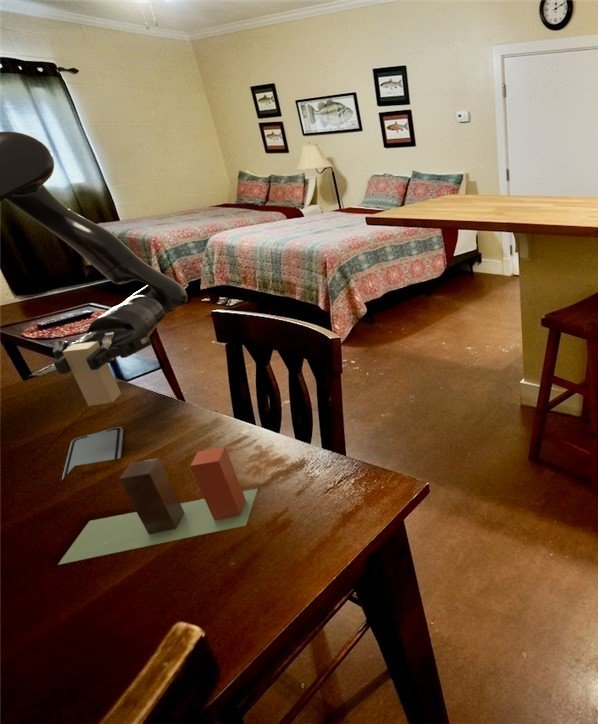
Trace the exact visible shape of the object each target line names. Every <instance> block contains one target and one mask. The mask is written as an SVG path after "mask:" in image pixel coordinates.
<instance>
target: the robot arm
mask: <svg viewBox="0 0 598 724" xmlns="http://www.w3.org/2000/svg"><path fill="white" fill-rule="evenodd" d="M54 170H55V160H54V156H53V154H52V152H51V151H50V149H49V148H48V147H47V146H46V145H45V144H44V143H43V142H41V140H38V139H37V138H35V137H33V136H32V135H28V134H25V133H22V132H16V131H8V130H7V131H0V203H1V202H3V201H4V200H5V201H6V202H8V203H9V204H11V205H12V206H13V207H15V208H17V209H18V210H20V211H21V212H23V213H24V214H26V215H27V216H28V217H30V218H31V219H32V220H33V221H36V222H37V223H38V224H40V225H41V226H43V228H46V229H47V230H48V231H50V232H51V233H52V234H54V235H55V236H57V237H58V238H59V239H61V240H62V241H63V242H65V243H66V244H67V245H68V246H70V247H71V248H72V249H73V250H74V251H76V252H77V253H78V254H79V255H80V256H82V258H84V259H85V260H86V261H87V262H88V263H90V264H91V265H92V267H94V268H95V269H97V271H99V272H100V273H101V274H102V275H103V276H104V277H106V278H107V279H108V280H109V281H110V282H112V283H113V284H115V285H123V284H128V283H129V282H132V281H133V282H134V281H138V282H142V283H144V284H146V286H144V287H142V288H141V289H139V290H138V291H136V292H134V293H133V294H132V295H130V296H129V297H127V298H126V299H125V300H124V301H122V302H121V303H119V304H118V305H116V306H113V307H111V308H110V309H108V310H107V311H105V312H104V313H103V314H101V315H99V316H98V317H97V318H96V319H94V320H93V321H92V322H90V324H89V325H88V328H87V332H86V334H85V335H83V336H81V337H79V338H77V340H76V341H75V342H69V341H66V340H64V339H58V340H57V341H55V342H54V345H53V349H52V353H53V355H54V357H55V359H56V360H55V361H54V362H53V365H54V367H55V369H56V371H57V372H58V373H59V374H61V375H63V374H64V375H65V374H69V372H72V371H71V369H70V367H69V365H68V363H67V360H66V358H65V356H64V354H63V351H64V350H66V349H67V348H69V347H70V346H72V345H73V344H80V343H89V342H97V341H98V342H99V345H100V348H101V349H98V350H96V351H95V352H94V353H92V354H91V355H90V356H89V357H87V359H86V360H87V363H88V365H89V367H90V369H91V370H97V369H99V368H100V367H101V366H103V365H104V364H106V363H109V362H113V361H114V360H116V359H117V358H118V357H120V359H125V358H128V357H130V356H133V355H135V354H137V353H138V352H140V351H142V350H144V349H146V348H147V347H149V346H151V345H152V341H151V338H150V336H151V334H152V333H153V332H154V330H156V328H157V327H158V326H159V325H160V324H161V323H162V322H163V320H164V318H166V317H167V316H169V315H170V314H173V313H174V312H175V311H177V310H178V309H180V308H181V307H182V308H183V306H185V305H186V304H187V302H188V294H187V293H188V292H187V291H186V289H185V288H184V287H183V286H182V285H181V284H180V283H179V282H177V281H176V280H175V279H173V278H171V277H169V276H168V275H166V274H164V273H162V272H160V271H159V270H157V269H156V268H154V267H153V266H151V265H149V264H148V263H147V262H145V261H144V260H143V259H141V258H140V257H139V256H138V255H136V253H135V252H134V251H132V249H130V248H129V247H128V246H127V245H126V244H125V243H124V242H123V241H122V240H120V238H119V237H117V236H116V235H115V234H114V233H112V232H110V231H109V230H108V229H106V228H104V227H103V226H101V225H99V224H97V223H95V222H93V221H91V220H89V219H87V218H86V217H84V216H81V215H79V214H78V213H76V212H75V211H74V210H71V209H70V208H68V207H67V206H66V205H65V204H64V203H62V202H61V201H60V200H58V199H57V198H56V197H55V196H54V195H53V194H52V193H51V191H50V190H48V188H47V187H46V186H45V185H44V184H45V183H46V182H47V181H48V180H49V179H51V177H52V175H53V173H54Z"/></svg>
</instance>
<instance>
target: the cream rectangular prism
mask: <svg viewBox="0 0 598 724" xmlns="http://www.w3.org/2000/svg"><path fill="white" fill-rule="evenodd" d="M98 349H101V348H100V345H99V342H98V341H97V342H89V343H80V344H73V345H72V346H70V347H69V348H67V349H66V350H64V351H63V354H64V356H65V358H66V360H67V363H68V365H69V367H70V369H71V371H70V372H71V373H72V375H73V377H74V379H75V382H76V383H77V385H78V387H79V389H80V391H81V394H82V395H83V399H84V400H85V402H86V404H87V406H88V407H92V406H99V405H105V404H111V403H114V402H115V401H116V400H117V399H118V398H119V397H120V396H121V395H122V392H121V390H120V387H119V385H118V383H117V381H116V379H115V376H114V375H113V372H112V370H111V367H110V365H109V362H107V363H106V364H104V365H103V366H101V367H100V368H99V369H97V370H91V369H90V367H89V365H88V363H87V360H86V359H87V357H89V356H90V355H91V354H92V353H94V352H95V351H96V350H98Z"/></svg>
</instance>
